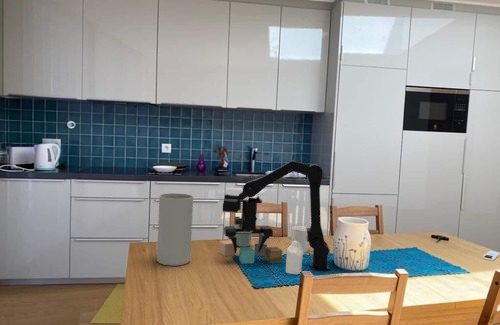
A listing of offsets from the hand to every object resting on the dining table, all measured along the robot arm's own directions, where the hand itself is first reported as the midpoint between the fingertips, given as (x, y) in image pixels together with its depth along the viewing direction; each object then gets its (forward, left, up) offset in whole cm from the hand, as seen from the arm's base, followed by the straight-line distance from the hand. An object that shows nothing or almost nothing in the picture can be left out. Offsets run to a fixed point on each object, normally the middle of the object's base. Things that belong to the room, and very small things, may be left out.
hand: (247, 252), depth 155 cm
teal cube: (0, 0, -4) cm, 4 cm away
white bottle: (-13, -15, -4) cm, 20 cm away
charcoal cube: (+9, -8, -4) cm, 12 cm away
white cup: (+13, -27, -4) cm, 30 cm away
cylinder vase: (+2, +28, -4) cm, 28 cm away
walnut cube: (0, -11, -4) cm, 11 cm away
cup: (+21, -3, -4) cm, 22 cm away
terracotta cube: (+10, +6, -4) cm, 12 cm away
